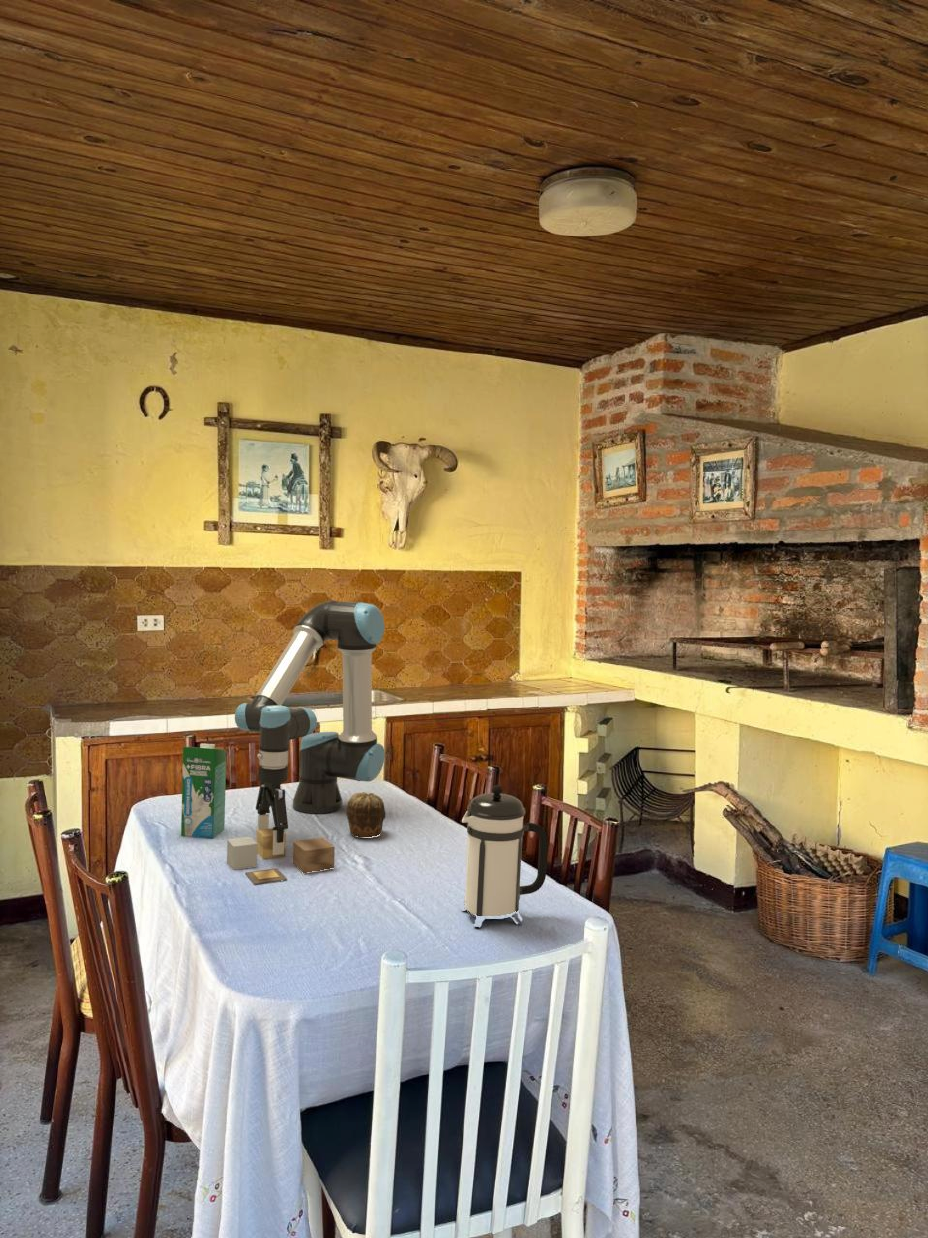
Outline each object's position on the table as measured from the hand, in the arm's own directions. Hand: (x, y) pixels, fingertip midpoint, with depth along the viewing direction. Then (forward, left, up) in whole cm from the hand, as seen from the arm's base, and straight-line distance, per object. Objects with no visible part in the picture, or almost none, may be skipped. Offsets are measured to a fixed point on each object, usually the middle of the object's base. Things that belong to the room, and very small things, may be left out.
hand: (270, 846), depth 239 cm
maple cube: (0, 0, -2) cm, 2 cm away
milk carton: (+12, -24, -2) cm, 27 cm away
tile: (+6, +16, -2) cm, 17 cm away
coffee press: (-34, +58, -2) cm, 67 cm away
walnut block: (-7, +13, -2) cm, 15 cm away
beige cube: (+9, +5, -2) cm, 10 cm away
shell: (-29, -6, -2) cm, 30 cm away
